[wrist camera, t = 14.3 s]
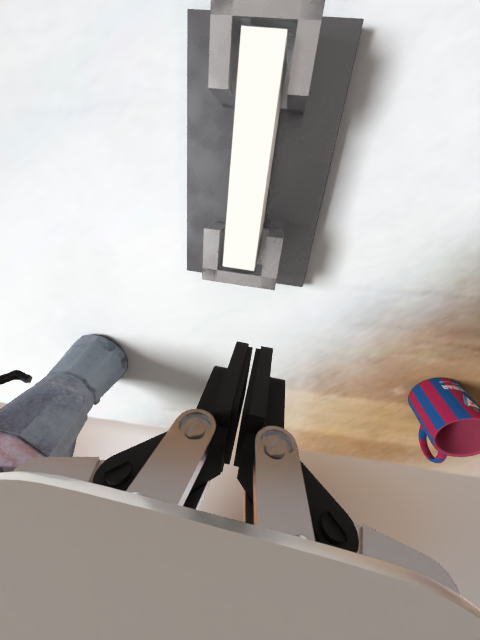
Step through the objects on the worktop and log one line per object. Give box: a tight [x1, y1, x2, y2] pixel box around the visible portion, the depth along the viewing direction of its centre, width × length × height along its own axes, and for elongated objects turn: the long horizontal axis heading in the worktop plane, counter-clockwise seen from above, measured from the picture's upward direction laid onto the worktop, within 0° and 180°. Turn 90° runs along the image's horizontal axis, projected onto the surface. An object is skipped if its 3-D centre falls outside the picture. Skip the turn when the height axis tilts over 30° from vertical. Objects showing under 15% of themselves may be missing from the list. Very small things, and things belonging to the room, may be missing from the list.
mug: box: [408, 378, 480, 463], centre depth 34 cm, size 7×10×7 cm
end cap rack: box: [187, 0, 364, 290], centre depth 24 cm, size 14×22×6 cm, turn 174°
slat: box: [223, 26, 288, 271], centre depth 22 cm, size 3×16×5 cm, turn 174°
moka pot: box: [0, 335, 127, 473], centre depth 33 cm, size 10×15×20 cm, turn 58°
